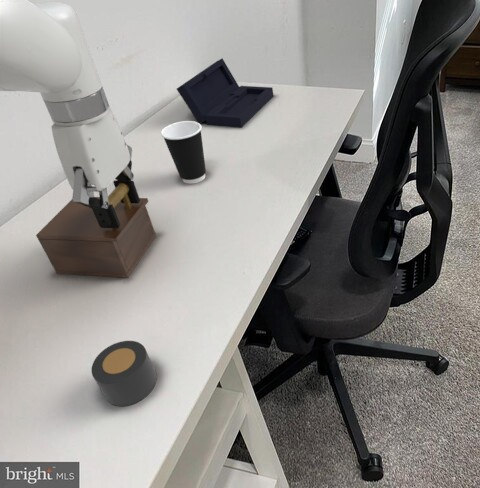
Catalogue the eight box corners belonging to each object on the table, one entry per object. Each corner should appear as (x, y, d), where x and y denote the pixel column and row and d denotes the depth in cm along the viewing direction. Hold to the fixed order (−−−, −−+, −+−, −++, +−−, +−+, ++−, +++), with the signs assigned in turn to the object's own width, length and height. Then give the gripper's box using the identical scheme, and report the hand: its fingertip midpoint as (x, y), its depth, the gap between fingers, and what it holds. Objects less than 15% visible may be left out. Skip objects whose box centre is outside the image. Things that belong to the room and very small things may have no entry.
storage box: (241, 127, 120) (234, 87, 114) (185, 122, 124) (175, 84, 118) (273, 96, 135) (268, 59, 129) (222, 93, 140) (215, 57, 134)
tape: (120, 416, 57) (106, 392, 54) (95, 386, 61) (81, 363, 58) (166, 381, 61) (156, 358, 58) (140, 355, 64) (129, 332, 61)
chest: (156, 236, 86) (144, 201, 81) (127, 277, 77) (112, 242, 73) (91, 233, 88) (76, 199, 83) (56, 274, 79) (37, 239, 75)
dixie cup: (167, 182, 101) (151, 133, 94) (193, 165, 106) (181, 118, 99) (194, 191, 97) (181, 141, 90) (220, 173, 102) (209, 124, 95)
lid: (148, 201, 81) (139, 175, 78) (117, 242, 73) (105, 214, 69) (76, 199, 83) (64, 173, 80) (37, 238, 75) (22, 211, 71)
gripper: (86, 82, 73) (124, 185, 84) (12, 132, 59) (69, 247, 70) (132, 81, 71) (165, 186, 82) (68, 133, 58) (117, 249, 69)
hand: (120, 213), depth 76 cm, fingers closed on lid, 6 cm apart
